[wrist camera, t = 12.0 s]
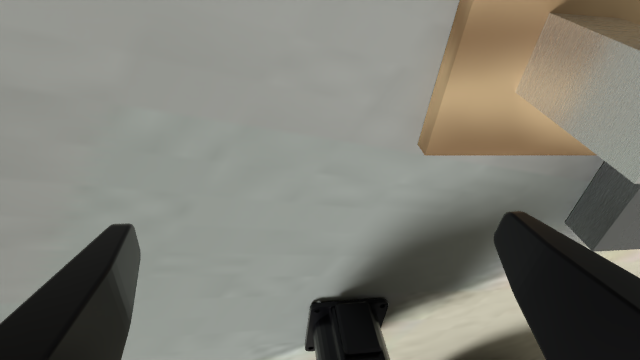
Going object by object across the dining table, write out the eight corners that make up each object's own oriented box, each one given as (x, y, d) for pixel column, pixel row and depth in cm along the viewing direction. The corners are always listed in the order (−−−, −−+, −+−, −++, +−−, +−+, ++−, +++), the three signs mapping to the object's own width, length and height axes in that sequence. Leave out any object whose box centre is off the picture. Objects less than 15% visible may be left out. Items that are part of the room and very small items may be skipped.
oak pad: (589, 145, 25) (602, 155, 24) (417, 144, 23) (424, 155, 22) (720, -73, 18) (746, -70, 17) (490, -103, 16) (505, -103, 15)
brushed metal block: (579, 94, 21) (720, 182, 15) (515, 92, 21) (634, 184, 14) (620, 18, 19) (808, 85, 13) (549, 12, 18) (710, 80, 12)
